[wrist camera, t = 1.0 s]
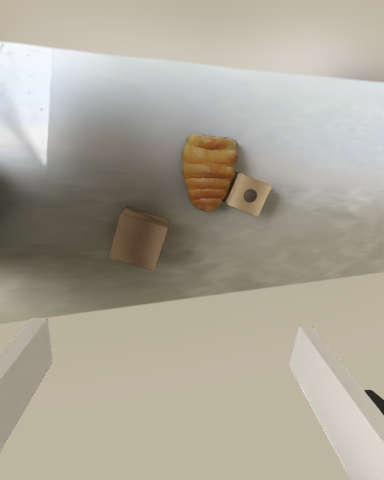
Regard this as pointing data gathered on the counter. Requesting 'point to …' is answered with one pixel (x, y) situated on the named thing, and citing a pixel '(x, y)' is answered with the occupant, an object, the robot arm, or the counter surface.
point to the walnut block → (139, 238)
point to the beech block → (247, 194)
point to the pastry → (208, 169)
